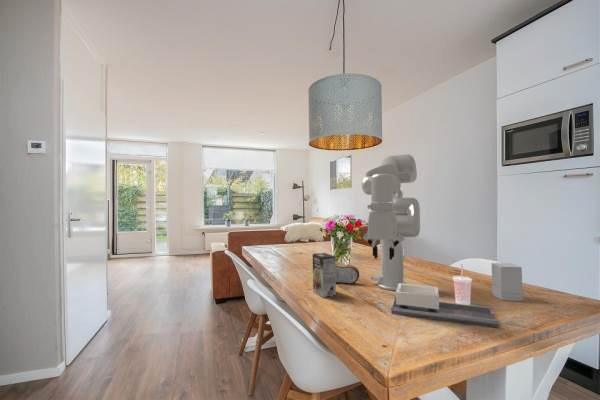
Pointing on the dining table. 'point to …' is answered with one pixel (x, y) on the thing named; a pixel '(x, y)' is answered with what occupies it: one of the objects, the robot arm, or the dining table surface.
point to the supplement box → (507, 281)
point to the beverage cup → (462, 288)
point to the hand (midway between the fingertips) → (383, 257)
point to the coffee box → (324, 274)
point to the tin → (346, 274)
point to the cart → (417, 296)
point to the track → (451, 313)
